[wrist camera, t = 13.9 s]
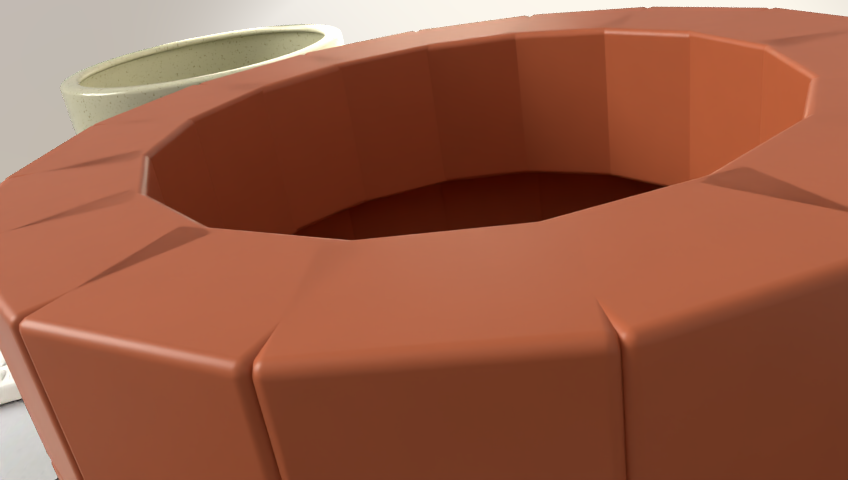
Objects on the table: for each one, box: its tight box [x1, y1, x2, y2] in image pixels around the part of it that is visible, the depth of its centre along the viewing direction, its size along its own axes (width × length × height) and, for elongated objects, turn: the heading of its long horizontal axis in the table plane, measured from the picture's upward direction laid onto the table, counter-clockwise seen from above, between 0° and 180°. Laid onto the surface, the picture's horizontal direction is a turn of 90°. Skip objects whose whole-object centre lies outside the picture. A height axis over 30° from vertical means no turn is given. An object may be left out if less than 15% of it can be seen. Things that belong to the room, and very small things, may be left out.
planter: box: [60, 24, 344, 135], centre depth 46 cm, size 15×16×23 cm
